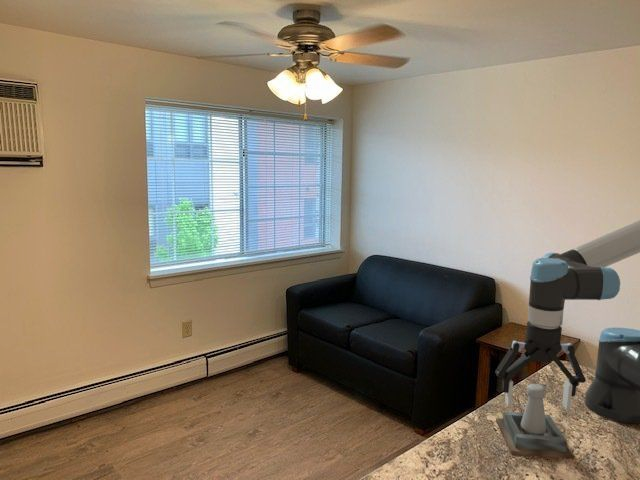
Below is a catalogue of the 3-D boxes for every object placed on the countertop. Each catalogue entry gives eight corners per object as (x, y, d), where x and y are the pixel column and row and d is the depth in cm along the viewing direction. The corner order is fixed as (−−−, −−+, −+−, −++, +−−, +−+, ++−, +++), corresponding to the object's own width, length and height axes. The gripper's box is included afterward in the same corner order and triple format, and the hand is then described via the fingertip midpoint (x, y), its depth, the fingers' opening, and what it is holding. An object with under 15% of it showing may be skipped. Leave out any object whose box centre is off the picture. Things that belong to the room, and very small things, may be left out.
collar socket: (551, 425, 122) (552, 412, 122) (573, 459, 108) (575, 445, 108) (495, 420, 124) (497, 408, 123) (510, 453, 110) (512, 440, 109)
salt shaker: (548, 443, 113) (552, 393, 111) (523, 440, 114) (526, 390, 112) (541, 430, 118) (545, 382, 116) (517, 427, 119) (521, 379, 117)
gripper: (592, 320, 113) (583, 400, 117) (486, 316, 116) (481, 394, 120) (607, 331, 106) (597, 417, 109) (493, 326, 108) (487, 410, 112)
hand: (536, 405), depth 114 cm, fingers open, 13 cm apart
